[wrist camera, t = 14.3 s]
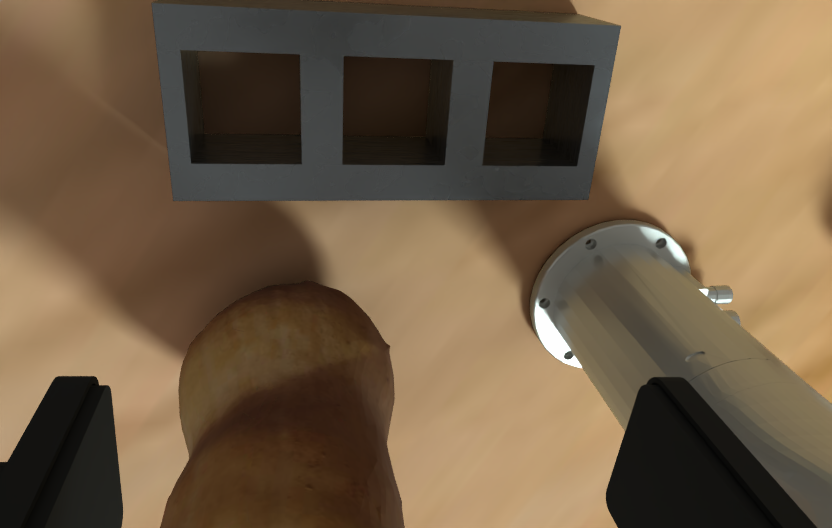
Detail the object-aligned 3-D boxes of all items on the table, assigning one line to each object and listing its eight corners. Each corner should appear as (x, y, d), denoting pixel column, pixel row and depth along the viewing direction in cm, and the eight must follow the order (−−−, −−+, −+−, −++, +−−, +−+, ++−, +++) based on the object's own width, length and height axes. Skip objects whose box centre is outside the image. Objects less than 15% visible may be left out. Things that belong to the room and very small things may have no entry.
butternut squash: (170, 271, 43) (46, 615, 21) (368, 237, 45) (443, 528, 23) (222, 429, 50) (167, 819, 28) (394, 395, 51) (470, 742, 29)
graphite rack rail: (578, 14, 40) (621, 25, 35) (553, 168, 45) (588, 199, 40) (172, -7, 36) (151, 3, 31) (188, 166, 41) (173, 200, 35)
